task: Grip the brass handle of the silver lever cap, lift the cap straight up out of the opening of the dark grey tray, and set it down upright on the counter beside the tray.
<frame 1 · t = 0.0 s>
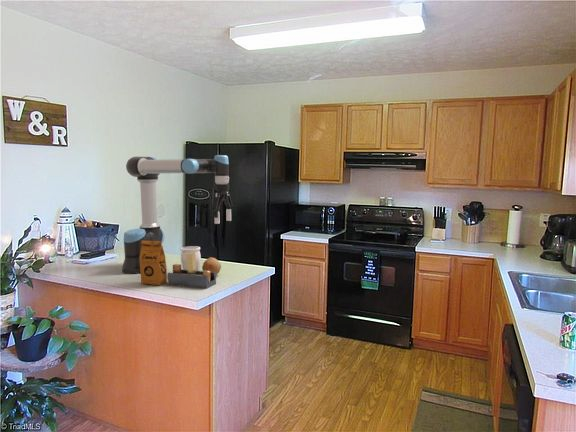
hand: (223, 222, 235), 28 cm above the worktop, tool pointing down, fingers open, 13 cm apart
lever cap: (192, 279, 213), point 2 cm above the worktop, touching dark grey tray
onion: (211, 276, 229), on the worktop
coffee package: (154, 283, 215), on the worktop
dark grey tray: (192, 284, 213), on the worktop
jar: (191, 274, 232), on the worktop
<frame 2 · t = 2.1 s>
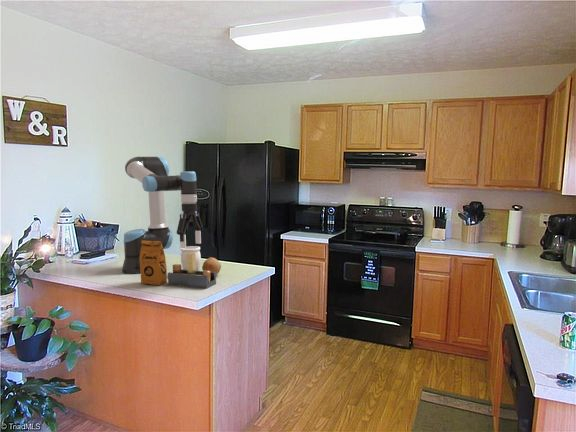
hand: (191, 245, 210), 20 cm above the worktop, tool pointing down, fingers open, 13 cm apart
nothing on the worktop moved.
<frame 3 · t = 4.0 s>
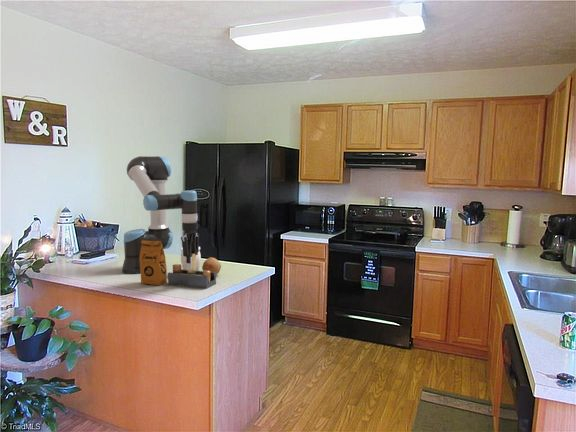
hand: (191, 268, 212), 8 cm above the worktop, tool pointing down, fingers closed on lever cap, 3 cm apart
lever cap: (192, 279, 213), point 2 cm above the worktop, touching gripper
everything else where it was.
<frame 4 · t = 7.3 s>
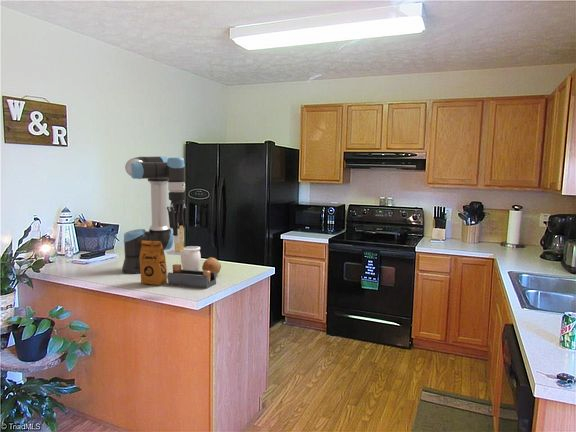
hand: (178, 241, 197), 24 cm above the worktop, tool pointing down, fingers closed on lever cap, 3 cm apart
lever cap: (179, 253, 198), point 18 cm above the worktop, touching gripper
everything else where it was.
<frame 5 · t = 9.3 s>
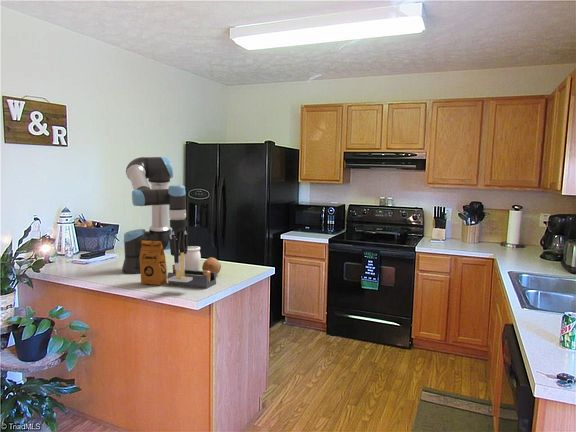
hand: (180, 268, 199), 11 cm above the worktop, tool pointing down, fingers closed on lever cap, 3 cm apart
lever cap: (180, 280, 199), point 6 cm above the worktop, touching gripper
everything else where it was.
when the fingers open (7 cm above the worktop, at t = 10.8 s): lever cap drops 2 cm, on the worktop.
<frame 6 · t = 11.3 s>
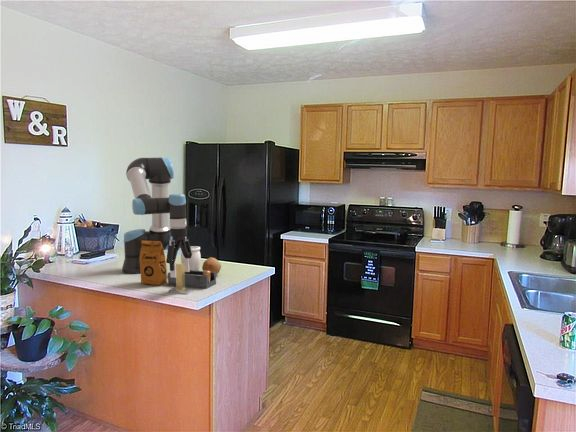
hand: (180, 274, 199), 8 cm above the worktop, tool pointing down, fingers open, 10 cm apart
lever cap: (180, 291, 200), on the worktop
everything else where it was.
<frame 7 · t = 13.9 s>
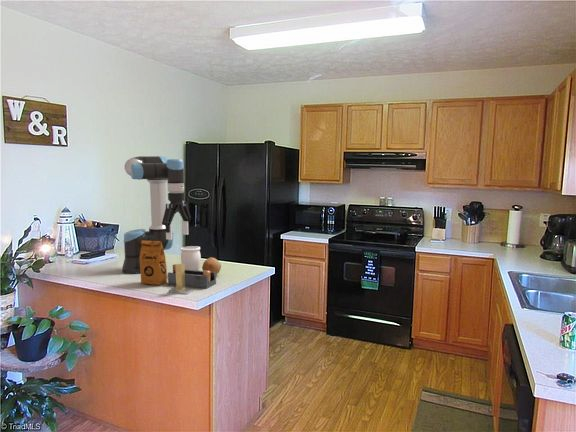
hand: (177, 236, 202), 25 cm above the worktop, tool pointing down, fingers open, 13 cm apart
nothing on the worktop moved.
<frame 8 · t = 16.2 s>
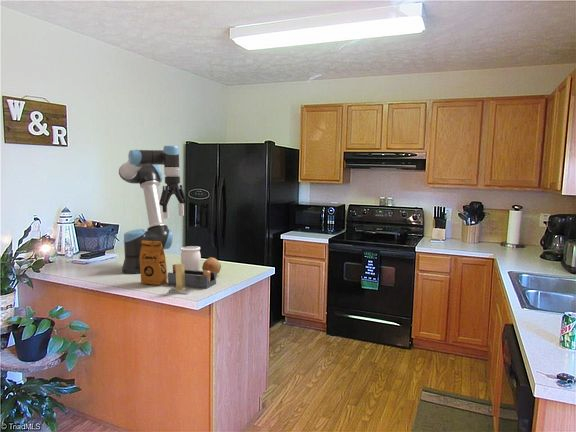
hand: (173, 217, 220), 33 cm above the worktop, tool pointing down, fingers open, 13 cm apart
nothing on the worktop moved.
at the end: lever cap inside the target area (0.0 cm from its centre), on the worktop; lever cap tilted 0°; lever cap touching worktop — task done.
